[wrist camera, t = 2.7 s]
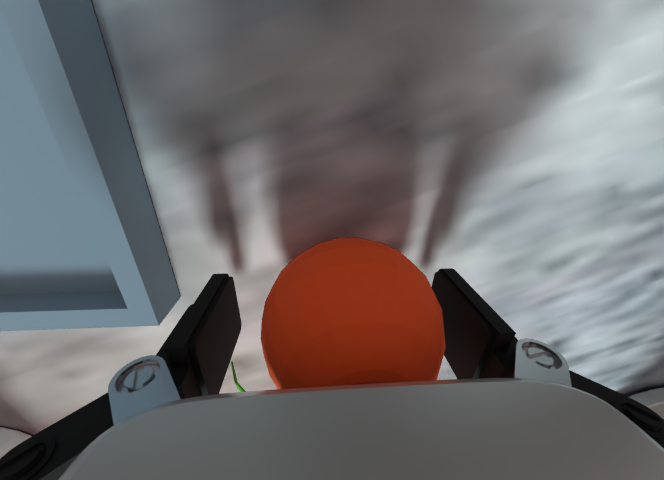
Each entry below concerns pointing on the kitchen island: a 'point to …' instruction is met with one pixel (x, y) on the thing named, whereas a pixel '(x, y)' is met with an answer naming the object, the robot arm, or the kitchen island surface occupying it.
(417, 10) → the kitchen island surface
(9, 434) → the white cup
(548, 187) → the kitchen island surface
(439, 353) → the clementine
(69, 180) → the dish
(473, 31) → the kitchen island surface
